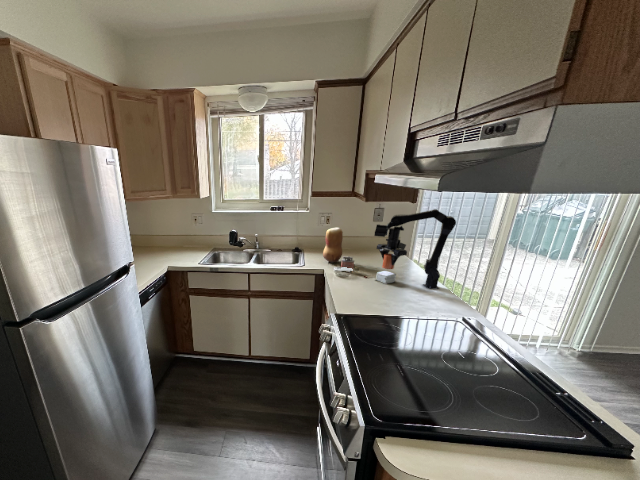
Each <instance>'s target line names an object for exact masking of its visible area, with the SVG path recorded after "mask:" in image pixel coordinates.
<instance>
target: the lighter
mask: <svg viewBox="0 0 640 480" xmlns="http://www.w3.org/2000/svg"><path fill="white" fill-rule="evenodd" d="M353 258H354V256H353V257H352V256H349V255H348V256H342V259H341V265H340V268H341V267H347V268H352V269H353V270H354V265H355V260H354V259H353Z"/></svg>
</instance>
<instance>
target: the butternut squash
mask: <svg viewBox="0 0 640 480" xmlns="http://www.w3.org/2000/svg"><path fill="white" fill-rule="evenodd" d="M325 233H326V234H325V247H324V249H323V252H322V256H323V259H324V260H325V261H327V262H329V263H338V262H339V261H340V260H341V258H342V257H343V247H342V246H343V245H342V244H343V238H344V237H343V235H344V234H343V233H344V232H343V230H342V228H341V227H331V228H329V229H327V230H326V232H325Z"/></svg>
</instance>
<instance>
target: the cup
mask: <svg viewBox="0 0 640 480" xmlns="http://www.w3.org/2000/svg"><path fill="white" fill-rule="evenodd" d="M391 254H392V253H390V252H389V253H387V254H384V260H383V259H382V266H381V267H382V269H384V270H394V269H395V265H396V263H395V264H394V265H392V261H391Z"/></svg>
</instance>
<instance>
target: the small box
mask: <svg viewBox="0 0 640 480" xmlns="http://www.w3.org/2000/svg"><path fill="white" fill-rule="evenodd" d="M396 277H397V274H396V273H394V272H391V271H388V270H383V271H378V272H376V277H375V281H378V282H381V283H383V284H385V285H387V284H392V283H395V281H396Z"/></svg>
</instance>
